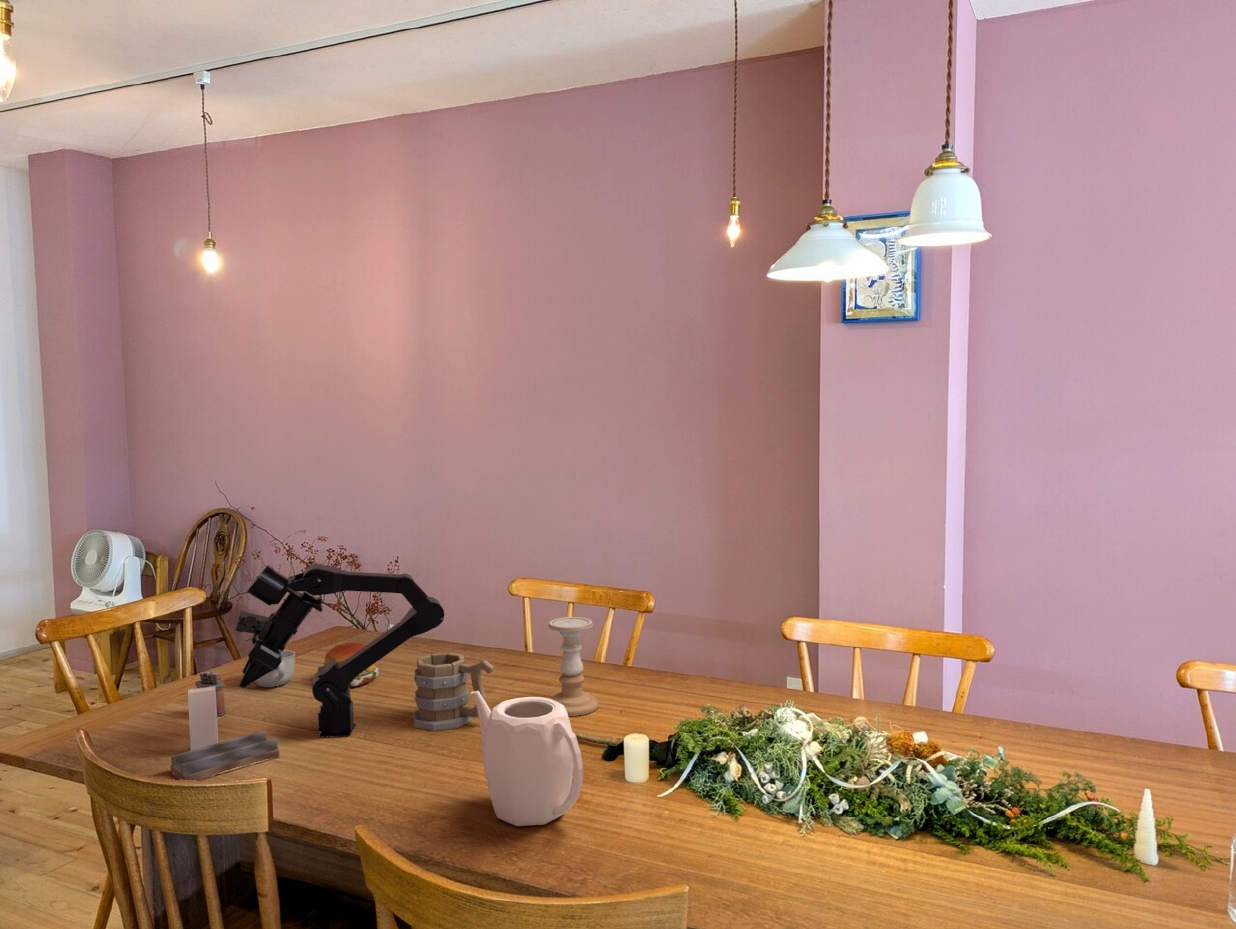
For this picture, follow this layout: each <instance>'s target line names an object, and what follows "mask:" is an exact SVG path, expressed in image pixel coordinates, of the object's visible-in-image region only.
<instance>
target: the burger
mask: <svg viewBox="0 0 1236 929" xmlns="http://www.w3.org/2000/svg"><path fill="white" fill-rule="evenodd" d="M366 645H367V644H365V643H361V642H355V641H354V642H345V643H341V644H338V645H336V646H334V647H332V648H330V649H329V651H327V652H326V654H325V656H324V660H323V661H324V662H323V665H326V664H327V663H328V662H329V661H330V660H331V659H332V658H335V660H336V662H340V661H343V660H346V659H348V658H349V657H350V656H352V655H353V654H355V653H356V652H357V651H359V650H360V649H362V648H363V647H365V646H366ZM377 662H378V661H377ZM377 662H376V663H374V664H373V665H372V666H370V667H369V668H367V669H366V670H364V671H363V672H362V673H360V674H359V675H358V676H356V677H355V679H354V680H353V681H352V682H351V684H350V685H349V686H348V687H349V688H351V687H352V688H353V687H357V686H362V685H365V684H368V683H370V682H371V681H373V680H374V678H375V677H377V676H379V668H378V667H377V666H376V664H377Z"/></svg>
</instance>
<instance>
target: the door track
mask: <svg viewBox="0 0 1236 929" xmlns="http://www.w3.org/2000/svg"><path fill="white" fill-rule="evenodd" d="M278 756H279V757H280V750H279V748H278V739H277V738H276V737H274V738H270V739H267V732H266V731H265V730H261V731H258V732H255V733H251V734H246V735H244V736H240V737H239V736H238V737H235V738H231V739H229V740H224V741H221V742H218V743H217V744H213V745H209V746H206V747H202V748H198V749H194V750H191V749H190V750H188V751H185V752H180V753H177V754H172V755H170V757H171V760H170V761H171V762H170V763H171V764H170V772H171V771H172V773H174V775H175V776H174V777H175V778H177V779H178V780H179V779H183V780H200V781H202V780H206V779H205V778H207V779H210V778H212V777H211V776H213V775H215V774H217V773H220V772H223V771H225V770H230V769H232V768H236V767H240V766H245V765H249V764H252V763H254V762H258V761H262V760H265V759H271V758H275V757H278ZM279 757H278V758H279ZM275 759H276V758H275ZM172 773H171V774H172ZM209 777H210V778H209Z"/></svg>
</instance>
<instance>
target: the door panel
mask: <svg viewBox="0 0 1236 929" xmlns="http://www.w3.org/2000/svg"><path fill="white" fill-rule="evenodd" d="M187 702H188V704H187V705H188V722H189V724H188V725H189V739H190V740H189V742H190V751H191V750H194V749H198V748H202V747H206V746H209V745H213V744H217V743H219V736H218V735H219V733H218V732H219V731H218V730H219V729H218V719H217V709H216V688H215V686H214V687H205V688H197V687H196V688H189V689H188V691H187Z"/></svg>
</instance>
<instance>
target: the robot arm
mask: <svg viewBox="0 0 1236 929" xmlns="http://www.w3.org/2000/svg"><path fill="white" fill-rule="evenodd" d="M348 591H349V592H363V593H365V592H366V593H368V592H369V593H384V594H385V593H387V594H391V593H392V594H401V595H402V596H403V597H404V598H405V600H406V601H407V602H408V603H409V605H410V606H411V608H410V609H409V610H408V611H407V612H406V614H405V615H404V616H403V617H402V619H401V620H400V621H399V622H397V623H396V624H395V625H393V626H392V627H390V628H389V629H387V630H386V631H384V632H383V633H381V634H380V635H379V636H378V637H376V638H374V639H373V640H372V641H370V642H369V643H367V644H366V646H365V647H363V648H362V649H360V650H359V651H357V652H356V653H355V654H353V655H352V656H350V657H349V658H348V659H346V660H343V661H340V662H336V660H335V658H332V659H331V660H330V661H329V662H328V663H327V664H326V665H325V664H323V665H322V666H319V667H317V672H316V673H314V675H313V678H312V684H311V685H312V686H311V688H312V696H313V698H314V699H315V700H316V701H318V702H319V703H321V705H320V706H319V707H320V710H319V712H318V714H317V720H318V722H317V723H318V725H317V726H318V732H319V734H318V737H319V736H320V737H319V738H332V737H331V736H341V737H349V735H350V734H352V733H353V731H354V730H355V728H356V727H357V724H356V723H355V719H354V701H353V700H352V696H351V695H352V694H351V687H348V686H349V685H350V684H351V682H352V681H353V680H354V679H355V677H356V676H358V675H359V674H360V673H362V672H363V671H364V670H366V669H367V668H369V667H370V666H372V665H373V664H374V663H375V664H377V663H376V662H379V661H380V660H382V659H383V658H385V657H386V656H387V655H389V654H390V653H392V652H393V651H394V650H396V649H397V648H398V647H399V646H401V645H402V644H404V643H405V642H407V641H408V640H410V639H411V638H412V637H416V636H419V635H423V634H425V633H427V632H429V631H431V630H433V629H436V628H438V627H439V626H440V625H441V624H442V623H443V621H444V618H445V610H444V608H443V606H442V604H441V603H440V601H439V600H438V599H437V598H435V597H432V596H428V595H427V594H426V593H425V591H424V590H423V589H422V588H421V587H420V585H418V584H417V583H416V581H415V580H414V578H413V577H412V576H411V575H410V574H408V573H400V574H397V573H396V574H395V573H379V572H359V571H358V572H357V571H347V570H344V569H343V570H342V569H339V568H337V567H334V566H329V565H326V564H321V563H320V564H319V563H314V564H311V565H309V566H307V568H305V570H304V571H303V572H300V573H297V574H294V575H291V576H288V577H287V576H285V575H283V574H282V573H280V572H278V571H277V570H275V568H273V566H271V565H269V564H267V565H266V566H265V568H264V569H263V570H262V571H261V572H260V573H259V574H258V575H257V576H256V577H255V578H254V580H253V581H252V582H251V583H250V585H249V587H248V588H247V590H246V593H247V594H249V595H251V596H252V597H254V598H256V599H258V600H259V601H261V602H263V603H264V604H265V605H267V606H269V607H271V606H272V605H273V606H275V605H276V606H277V605H278V604H280V603H281V601H282V600H283V598H284V597H285V596H286V594H287V593H288V594H287V596H286V598H284V601H282V603H281V604H280V605H279V607H278V609H277V610H276V611H274V612H271V613H270V614H269V616H266V615H262V614H256V613H250V612H246V611H241V612H240V613H239V616H238V619H237V623H236V626H235V629H234V630H235V632H237V633H238V632H239V633H243V632H244V633H248V634H252V637H251V643H252V646H251V648H250V650H249V651H248V659H247V661H246V663H245V665H244V668H243V669H242V671H241V672H242V674H243V675H242V678H241V680H240V682H239V687H240V688H241V689H242V688H243V689H244V688H246V687H248V686H249V685H250V684H252V683H255V682H254V681H256V680H257V679H259V678H260V677H262V676H264V675H266V674H267V673H269V672H271V671H273V670H274V669H277V667H278V666H279V665H280V663H281V662H282V655H281V651H282V652H283V650H286V645H287V644H288V642H289V641H290V640H291V638H292V637H293V636H295V635H296V634H297V632H298V628H299V627H300V626H301V625H302V623H303V622H304V621H305V619H306V618H307V616H308V615H309V614H310V612H311V611H312V610H313V609H315V610H316V611H318V612H320V613H321V612H323V604H322V601H323V600H322V599H323V598H322V596H324V595H325V596H326V595H333V594H337V593H341V592H348ZM300 592H301V593H300ZM314 596H318V597H314ZM279 650H280V651H279ZM322 736H323V737H322ZM327 736H328V737H327ZM329 736H330V737H329ZM350 736H351V735H350Z"/></svg>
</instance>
